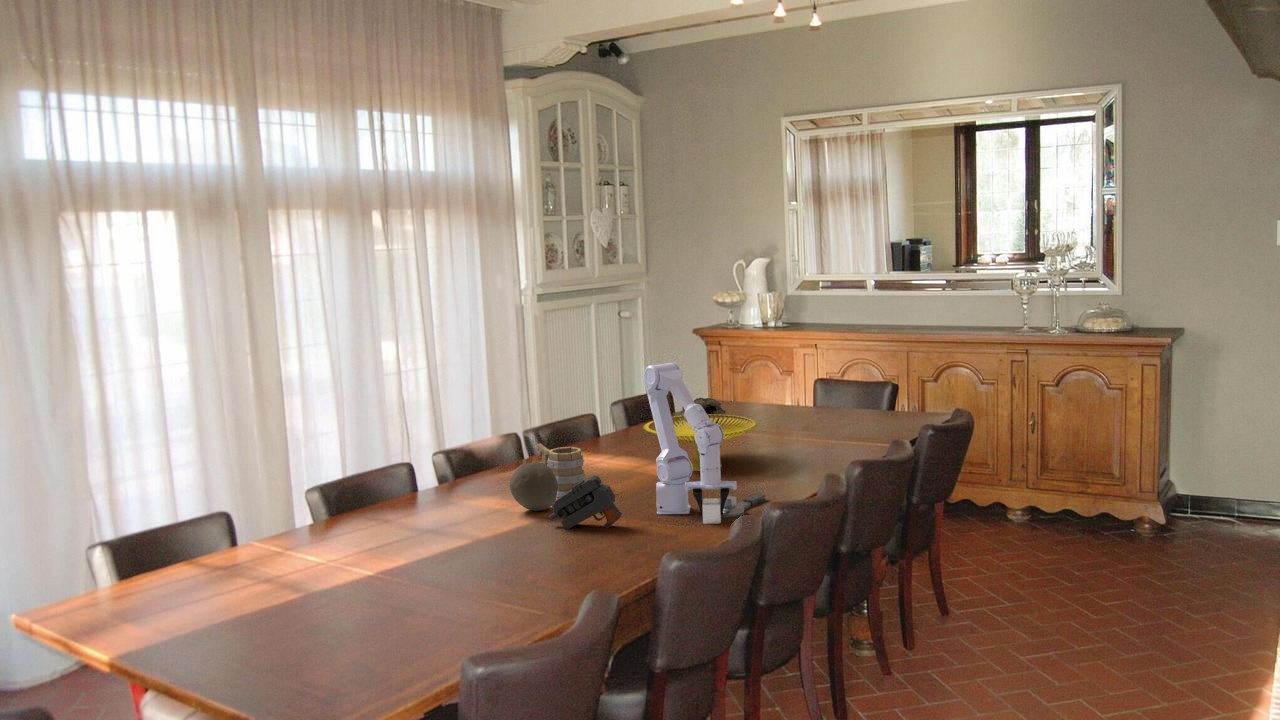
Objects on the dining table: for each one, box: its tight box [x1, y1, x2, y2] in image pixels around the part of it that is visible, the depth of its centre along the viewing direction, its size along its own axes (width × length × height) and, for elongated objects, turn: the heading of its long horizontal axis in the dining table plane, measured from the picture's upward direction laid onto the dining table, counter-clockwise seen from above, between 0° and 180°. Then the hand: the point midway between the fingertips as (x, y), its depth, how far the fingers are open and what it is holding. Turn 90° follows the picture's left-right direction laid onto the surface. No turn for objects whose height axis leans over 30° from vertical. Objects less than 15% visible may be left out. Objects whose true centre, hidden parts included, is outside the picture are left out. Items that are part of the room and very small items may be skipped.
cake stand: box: [643, 414, 759, 472], centre depth 361 cm, size 40×40×15 cm
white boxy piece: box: [702, 497, 722, 525], centre depth 294 cm, size 5×5×6 cm
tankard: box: [534, 442, 586, 499], centre depth 336 cm, size 20×13×15 cm, turn 47°
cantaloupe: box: [509, 461, 558, 512], centre depth 312 cm, size 14×14×15 cm
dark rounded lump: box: [678, 397, 727, 427], centre depth 425 cm, size 28×13×15 cm
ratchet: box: [721, 492, 766, 519], centre depth 306 cm, size 22×8×5 cm, turn 144°
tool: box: [548, 474, 623, 530], centre depth 294 cm, size 6×19×15 cm, turn 78°
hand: (711, 514), depth 294 cm, fingers closed on white boxy piece, 5 cm apart
